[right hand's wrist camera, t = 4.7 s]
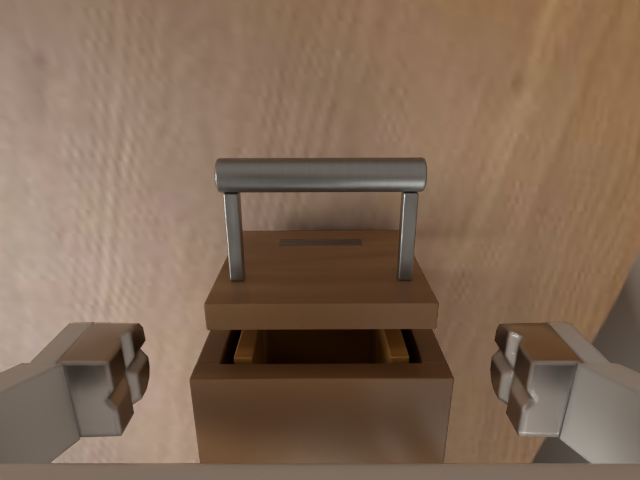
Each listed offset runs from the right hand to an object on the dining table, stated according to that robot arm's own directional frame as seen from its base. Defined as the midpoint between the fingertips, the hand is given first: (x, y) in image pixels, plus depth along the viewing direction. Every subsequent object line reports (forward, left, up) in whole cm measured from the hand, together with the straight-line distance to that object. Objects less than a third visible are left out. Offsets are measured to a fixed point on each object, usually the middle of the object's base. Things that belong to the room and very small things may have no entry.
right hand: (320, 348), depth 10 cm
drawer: (+7, -2, -15) cm, 17 cm away
